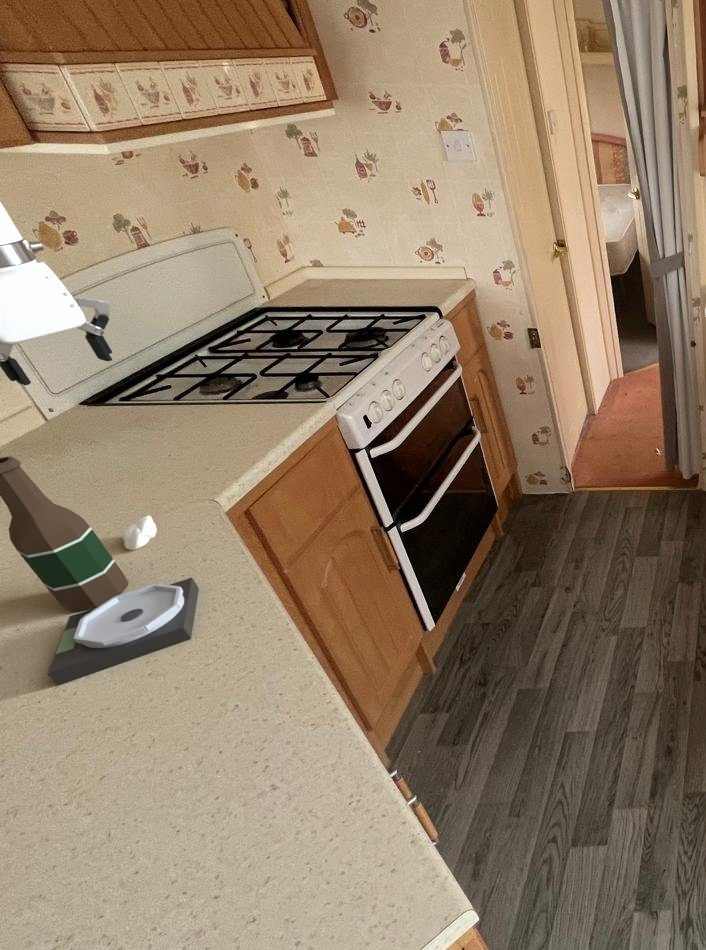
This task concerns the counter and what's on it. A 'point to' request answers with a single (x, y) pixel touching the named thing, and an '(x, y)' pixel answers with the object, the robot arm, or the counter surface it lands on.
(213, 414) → the counter surface
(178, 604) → the scale
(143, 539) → the dumpling
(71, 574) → the beer bottle
